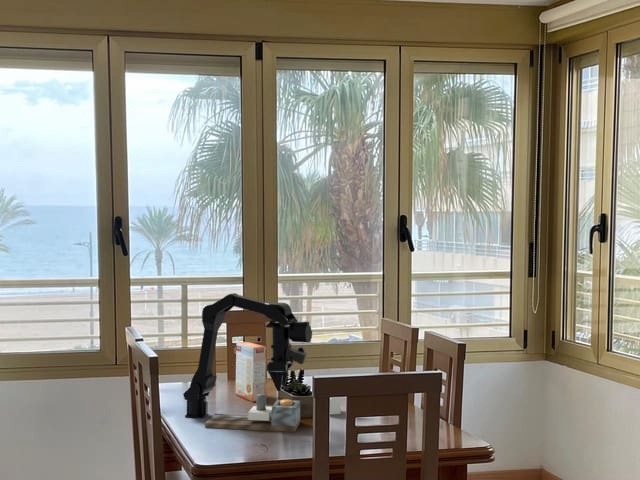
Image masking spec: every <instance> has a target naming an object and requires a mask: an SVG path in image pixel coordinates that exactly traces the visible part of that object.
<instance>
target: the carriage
mask: <svg viewBox="0 0 640 480" xmlns="http://www.w3.org/2000/svg"><path fill="white" fill-rule="evenodd" d="M247 415H248V420H263V421H269V420H270V419H271V417H272V406H267V394H266V393H265V394H257V401H256V405H253V406H252V407H251V408H250V409H249V411H248V412H247Z"/></svg>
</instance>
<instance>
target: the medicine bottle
mask: <svg viewBox="0 0 640 480" xmlns="http://www.w3.org/2000/svg"><path fill="white" fill-rule="evenodd" d="M341 398H342V397H341ZM341 398H332V399H331V400H330V413H331V415H330V416H333V415H341V411H342V408H341V406H342V405H341V404H342V402H341V401H342V399H341Z"/></svg>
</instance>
